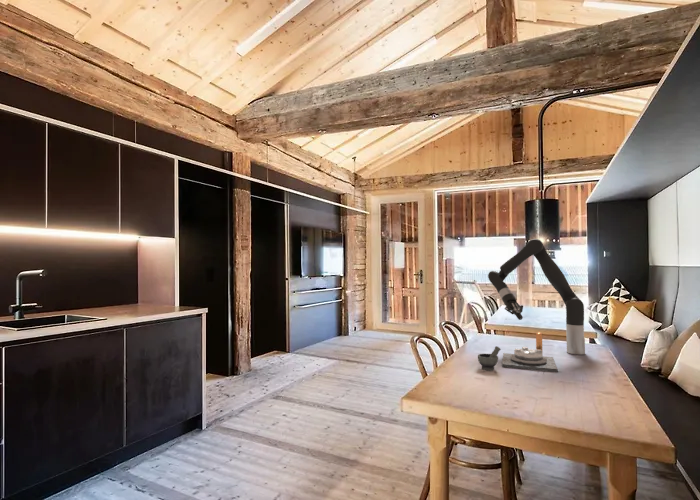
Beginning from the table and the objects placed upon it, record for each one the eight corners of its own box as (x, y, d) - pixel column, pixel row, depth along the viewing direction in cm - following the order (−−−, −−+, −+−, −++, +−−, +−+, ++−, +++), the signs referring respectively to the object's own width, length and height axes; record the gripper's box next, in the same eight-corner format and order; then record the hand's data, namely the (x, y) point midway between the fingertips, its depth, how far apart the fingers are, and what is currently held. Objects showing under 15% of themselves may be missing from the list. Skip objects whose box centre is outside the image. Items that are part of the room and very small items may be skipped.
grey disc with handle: (534, 362, 202) (534, 339, 203) (509, 357, 213) (509, 335, 214) (553, 356, 215) (553, 334, 215) (528, 351, 226) (528, 331, 226)
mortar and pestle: (478, 370, 198) (477, 347, 198) (477, 366, 207) (477, 343, 207) (501, 372, 195) (501, 348, 195) (500, 367, 204) (499, 344, 204)
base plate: (553, 359, 219) (552, 354, 219) (557, 372, 195) (557, 366, 195) (503, 355, 229) (503, 350, 229) (502, 366, 205) (502, 361, 205)
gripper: (501, 293, 242) (514, 315, 230) (518, 292, 246) (533, 314, 234) (495, 300, 247) (508, 323, 235) (513, 300, 251) (526, 322, 239)
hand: (521, 319), depth 234 cm, fingers closed
